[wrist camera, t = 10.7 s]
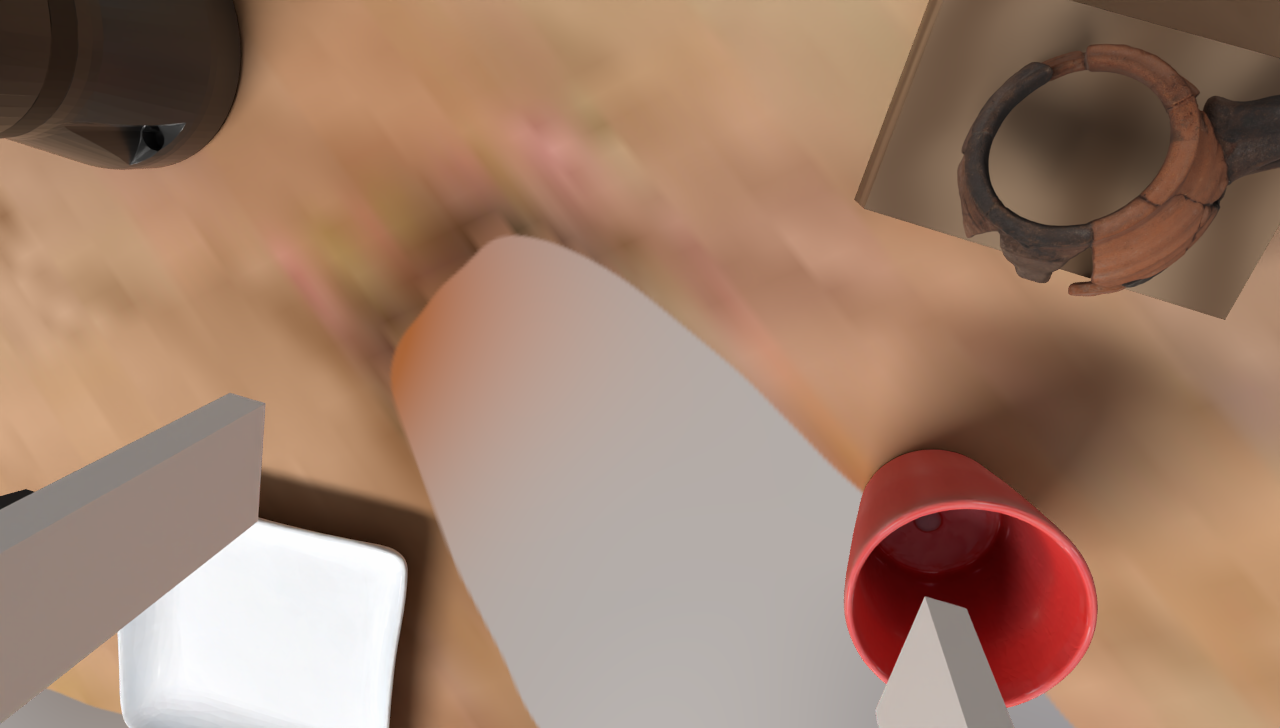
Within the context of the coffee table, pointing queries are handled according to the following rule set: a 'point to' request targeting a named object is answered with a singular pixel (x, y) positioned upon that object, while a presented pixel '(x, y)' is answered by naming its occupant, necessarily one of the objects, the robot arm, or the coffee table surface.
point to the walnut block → (1066, 134)
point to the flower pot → (967, 571)
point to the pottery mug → (1158, 217)
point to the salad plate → (270, 637)
